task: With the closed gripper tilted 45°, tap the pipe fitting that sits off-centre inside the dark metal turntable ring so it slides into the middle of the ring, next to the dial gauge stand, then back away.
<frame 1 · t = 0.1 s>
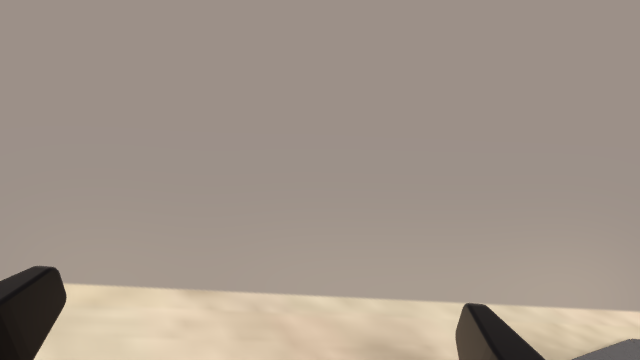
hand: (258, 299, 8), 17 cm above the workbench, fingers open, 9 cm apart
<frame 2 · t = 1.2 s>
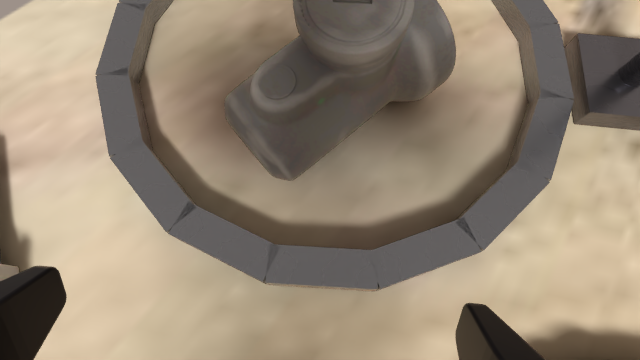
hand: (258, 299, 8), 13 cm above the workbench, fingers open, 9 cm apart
dial gauge stand: (614, 88, 25), on the workbench
pipe fitting: (328, 115, 25), on the workbench
turntable ring: (333, 62, 26), on the workbench
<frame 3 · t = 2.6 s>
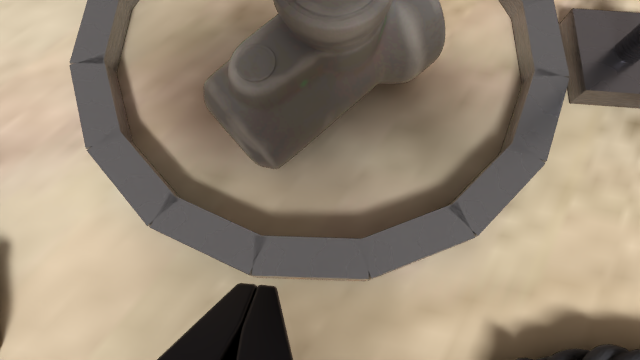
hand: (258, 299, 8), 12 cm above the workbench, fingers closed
dial gauge stand: (610, 65, 24), on the workbench
pipe fitting: (315, 100, 24), on the workbench
turntable ring: (319, 45, 25), on the workbench
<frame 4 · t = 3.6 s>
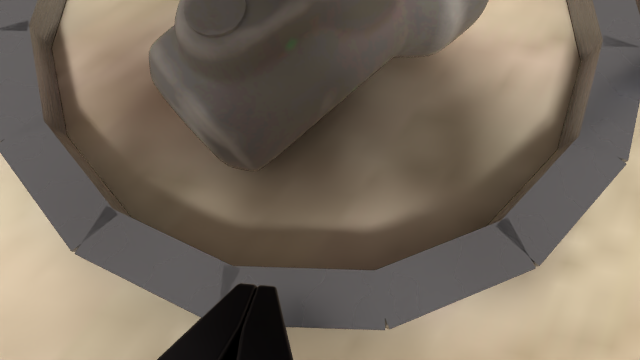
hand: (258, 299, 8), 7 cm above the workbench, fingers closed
pipe fitting: (310, 81, 18), on the workbench
turntable ring: (316, 12, 19), on the workbench
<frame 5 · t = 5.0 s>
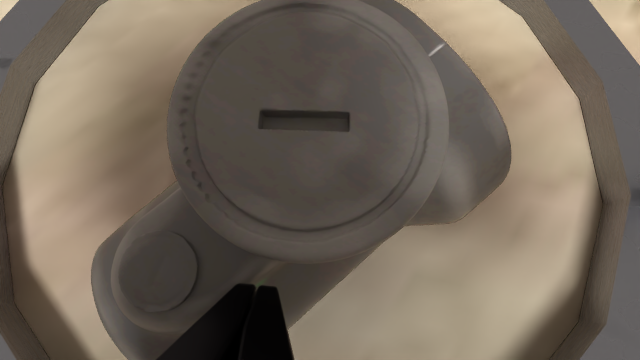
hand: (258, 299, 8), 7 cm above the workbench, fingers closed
pipe fitting: (295, 226, 16), on the workbench, touching gripper
turntable ring: (303, 140, 17), on the workbench
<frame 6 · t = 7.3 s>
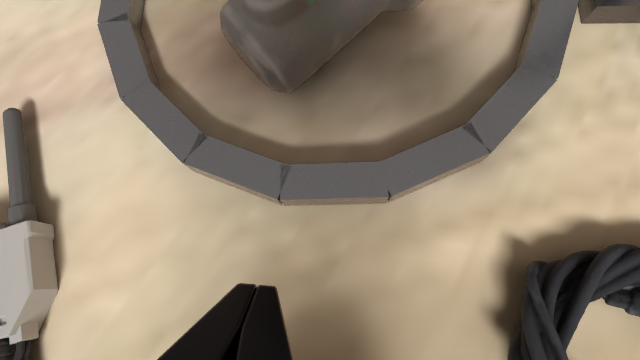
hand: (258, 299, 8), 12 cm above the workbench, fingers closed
pipe fitting: (326, 33, 25), on the workbench
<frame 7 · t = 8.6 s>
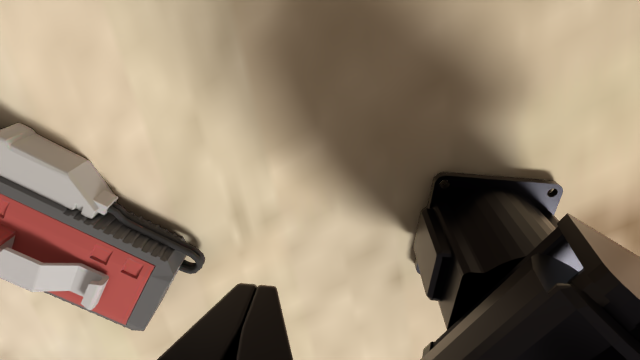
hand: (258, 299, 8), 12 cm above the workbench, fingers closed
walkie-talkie: (48, 195, 23), on the workbench
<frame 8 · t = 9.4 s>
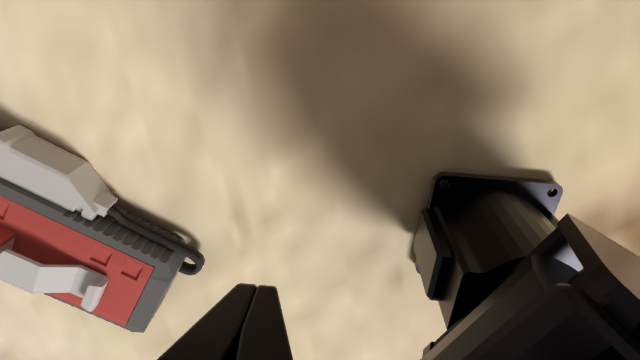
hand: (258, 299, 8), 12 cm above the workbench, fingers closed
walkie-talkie: (48, 197, 23), on the workbench
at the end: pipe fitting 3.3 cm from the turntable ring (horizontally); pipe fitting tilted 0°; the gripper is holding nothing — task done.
